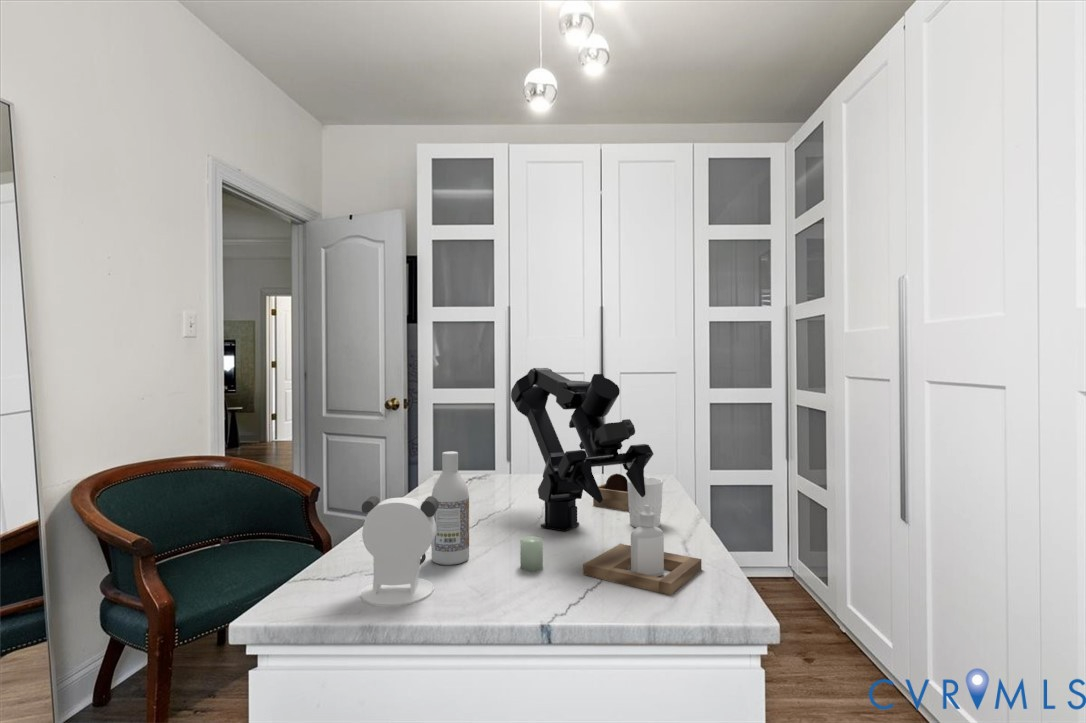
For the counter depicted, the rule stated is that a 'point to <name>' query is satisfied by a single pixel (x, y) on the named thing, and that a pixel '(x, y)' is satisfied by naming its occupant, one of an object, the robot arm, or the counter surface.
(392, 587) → the panda figurine
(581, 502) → the counter surface
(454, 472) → the bath foam
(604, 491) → the walnut watch frame
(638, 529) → the eye dropper bottle
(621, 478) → the dark brown rounded piece
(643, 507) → the white cup
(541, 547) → the pale green rounded cylinder
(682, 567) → the walnut square frame
